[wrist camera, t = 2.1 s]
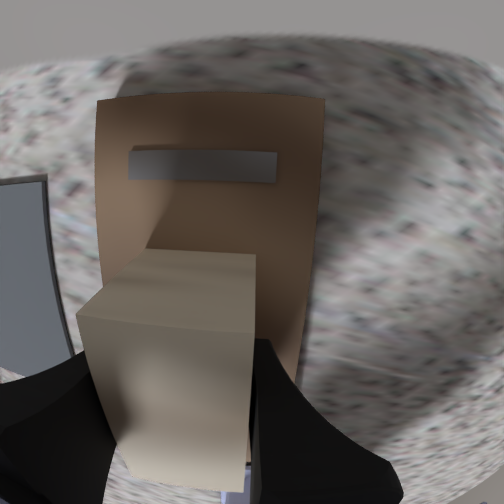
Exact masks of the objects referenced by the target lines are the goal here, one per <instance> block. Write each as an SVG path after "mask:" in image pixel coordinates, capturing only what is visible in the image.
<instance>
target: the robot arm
mask: <svg viewBox="0 0 504 504" xmlns="http://www.w3.org/2000/svg"><path fill="white" fill-rule="evenodd" d="M248 426H249V439H250V452H251V466H245V478H244V491H243V493H241V492H225V491H220V492H221V504H399V503H400V501H401V500H402V498H403V494H404V492H403V489H402V486H401V483H400V481H399V478H398V476H397V474H396V472H395V470H394V469H393V467H392V465H391V463H390V462H389V461H387V460H385V459H383V458H381V457H379V456H378V455H376V454H374V453H372V452H370V451H368V450H366V449H365V448H363V447H361V446H360V445H358V444H357V443H355V442H354V441H352V440H351V439H349V438H348V437H346V436H345V435H344V434H343V433H341V432H340V431H339V430H338V429H336V428H335V427H334V426H333V425H331V424H330V423H329V422H328V421H327V420H326V419H325V418H324V417H323V416H322V415H320V414H319V413H318V412H317V411H316V409H315V408H314V407H313V406H312V405H311V404H310V403H309V402H308V401H307V400H306V398H305V397H304V396H303V395H302V393H301V392H300V391H299V390H298V388H297V387H296V386H295V384H294V383H293V381H292V380H291V378H290V377H289V375H288V374H287V372H286V371H285V369H284V367H283V366H282V364H281V362H280V360H279V358H278V357H277V355H276V352H275V350H274V348H273V346H272V343H271V341H270V340H269V339H259V338H254V352H253V367H252V381H251V396H250V410H249V424H248ZM116 445H117V443H116V441H115V438H114V436H113V434H112V431H111V429H110V426H109V424H108V421H107V418H106V416H105V413H104V410H103V408H102V405H101V402H100V399H99V396H98V394H97V391H96V388H95V385H94V381H93V378H92V375H91V372H90V369H89V365H88V362H87V358H86V355H85V351H82V352H80V353H79V354H77V355H75V356H73V357H71V358H70V359H68V360H66V361H64V362H62V363H60V364H58V365H56V366H54V367H52V368H49V369H47V370H45V371H42V372H40V373H37V374H34V375H31V376H28V377H25V378H22V379H19V380H15V381H11V382H7V383H3V384H0V504H102V503H103V497H104V492H105V486H106V482H107V477H108V473H109V469H110V465H111V461H112V458H113V454H114V451H115V448H116ZM481 504H487V502H482V503H481Z"/></svg>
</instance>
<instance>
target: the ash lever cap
mask: <svg viewBox="0 0 504 504" xmlns="http://www.w3.org/2000/svg"><path fill="white" fill-rule="evenodd" d="M255 282H256V254H239V253H220V252H201V251H183V250H164V249H146V248H145V249H144V250H143V251H142V252H141V253H140V254H138V255H137V256H136V257H135V258H134V259H133V260H132V261H131V262H130V263H129V264H127V265H126V266H125V267H124V268H123V269H122V270H121V271H120V272H119V273H118V274H117V275H116V276H114V277H113V278H112V279H111V280H110V281H109V282H108V283H107V284H106V285H105V286H104V287H103V288H102V289H101V290H100V291H99V292H98V293H97V294H96V295H94V296H93V297H92V298H91V299H90V300H89V301H88V302H87V303H86V304H85V305H84V306H83V307H82V308H81V309H80V310H79V311H78V312H77V313H76V319H77V323H78V327H79V332H80V336H81V340H82V343H83V347H84V351H85V355H86V358H87V362H88V365H89V369H90V372H91V375H92V378H93V381H94V385H95V388H96V391H97V394H98V396H99V399H100V402H101V405H102V408H103V410H104V413H105V416H106V418H107V421H108V424H109V426H110V429H111V431H112V434H113V436H114V438H115V441H116V443H117V445H118V448H119V450H120V452H121V454H122V457H123V459H124V461H125V463H126V465H127V467H128V469H129V471H130V473H131V475H132V477H135V478H139V479H144V480H149V481H153V482H158V483H164V484H169V485H175V486H182V487H188V488H196V489H204V490H214V491H225V492H241V493H243V491H244V478H245V465H246V451H247V438H248V424H249V410H250V396H251V381H252V367H253V352H254V337H255Z"/></svg>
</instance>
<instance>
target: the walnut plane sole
mask: <svg viewBox="0 0 504 504" xmlns="http://www.w3.org/2000/svg"><path fill="white" fill-rule="evenodd" d="M324 112H325V99H322V98H313V97H304V96H294V95H283V94H269V93H249V92H184V93H164V94H150V95H139V96H129V97H120V98H112V99H105V100H98V101H97V112H96V130H95V203H96V222H97V236H98V247H99V257H100V266H101V274H102V282H103V287H104V286H105V285H106V284H107V283H108V282H109V281H110V280H111V279H112V278H113V277H114V276H116V275H117V274H118V273H119V272H120V271H121V270H122V269H123V268H124V267H125V266H126V265H127V264H129V263H130V262H131V261H132V260H133V259H134V258H135V257H136V256H137V255H138V254H140V253H141V252H142V251H143V250H144V249H145V248H146V249H164V250H183V251H201V252H220V253H239V254H256V282H255V337H254V338H259V339H269V340H270V341H271V343H272V346H273V348H274V350H275V352H276V355H277V357H278V358H279V360H280V362H281V364H282V366H283V367H284V369H285V371H286V372H287V374H288V375H289V377H290V378H291V380H292V381H293V383H294V382H295V377H296V371H297V365H298V359H299V353H300V347H301V340H302V334H303V327H304V321H305V314H306V307H307V300H308V292H309V284H310V277H311V268H312V260H313V251H314V242H315V233H316V223H317V213H318V202H319V190H320V178H321V164H322V149H323V132H324ZM246 462H251V452H250V439H249V426H248V438H247V451H246Z"/></svg>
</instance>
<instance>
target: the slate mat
mask: <svg viewBox="0 0 504 504" xmlns="http://www.w3.org/2000/svg"><path fill="white" fill-rule="evenodd" d="M73 356H74V355H73V351H72V348H71V344H70V341H69V337H68V333H67V329H66V325H65V321H64V317H63V313H62V309H61V304H60V299H59V294H58V289H57V284H56V279H55V273H54V267H53V260H52V254H51V246H50V238H49V229H48V218H47V206H46V187H45V181H40V182H29V183H18V184H9V185H0V367H2V368H5V369H7V370H10V371H12V372H15V373H17V374H20V375H22V376H25V377H28V376H31V375H34V374H37V373H40V372H42V371H45V370H47V369H49V368H52V367H54V366H56V365H58V364H60V363H62V362H64V361H66V360H68V359H70V358H71V357H73Z"/></svg>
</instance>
